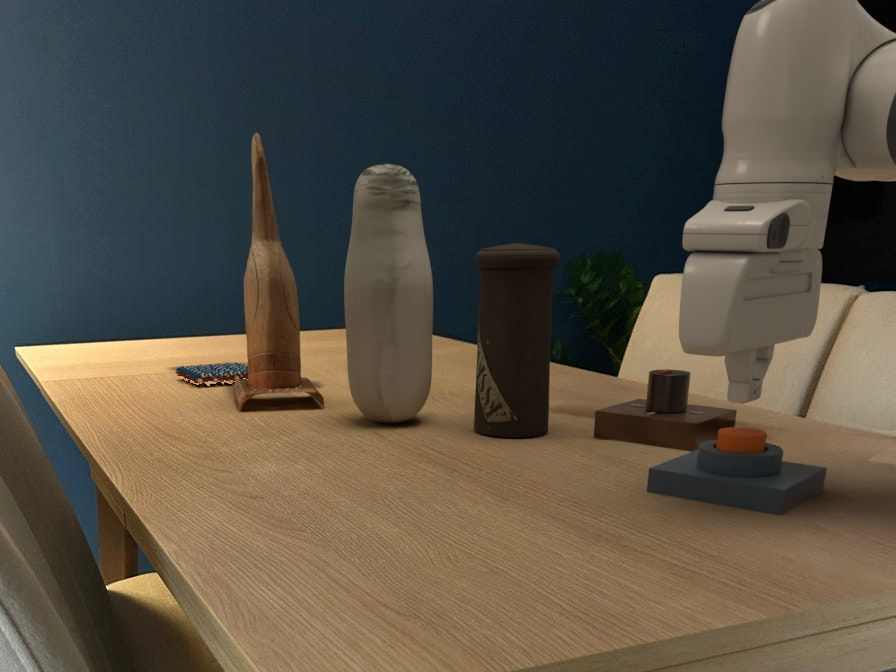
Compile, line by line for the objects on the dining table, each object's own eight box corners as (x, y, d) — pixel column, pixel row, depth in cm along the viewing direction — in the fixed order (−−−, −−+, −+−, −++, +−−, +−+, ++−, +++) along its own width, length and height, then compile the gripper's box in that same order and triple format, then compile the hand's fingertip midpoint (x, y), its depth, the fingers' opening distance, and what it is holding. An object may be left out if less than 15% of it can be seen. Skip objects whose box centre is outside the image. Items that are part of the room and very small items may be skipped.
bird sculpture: (312, 394, 136) (300, 138, 123) (327, 408, 125) (316, 130, 113) (231, 398, 133) (211, 136, 120) (240, 413, 123) (219, 128, 110)
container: (478, 423, 116) (482, 242, 108) (553, 425, 114) (563, 242, 106) (466, 437, 108) (470, 244, 100) (547, 440, 106) (557, 243, 99)
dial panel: (733, 437, 108) (737, 408, 107) (693, 452, 101) (697, 421, 100) (636, 424, 115) (638, 397, 114) (593, 437, 108) (595, 408, 107)
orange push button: (771, 451, 85) (774, 430, 84) (753, 458, 82) (755, 438, 81) (727, 444, 87) (729, 425, 86) (708, 452, 84) (710, 432, 83)
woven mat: (264, 382, 146) (263, 369, 145) (196, 388, 141) (195, 374, 140) (239, 374, 154) (238, 361, 154) (174, 379, 149) (173, 365, 149)
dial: (657, 404, 110) (661, 365, 108) (693, 409, 107) (698, 368, 105) (638, 410, 106) (641, 369, 105) (675, 414, 104) (679, 373, 102)
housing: (822, 491, 86) (830, 447, 84) (780, 516, 79) (787, 467, 77) (696, 471, 93) (700, 430, 91) (646, 492, 86) (650, 447, 84)
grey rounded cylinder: (442, 426, 114) (443, 161, 103) (356, 431, 112) (348, 160, 101) (421, 412, 123) (420, 166, 112) (341, 416, 120) (332, 166, 109)
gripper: (778, 225, 86) (756, 383, 92) (672, 225, 72) (654, 412, 78) (851, 225, 83) (823, 390, 88) (754, 225, 68) (729, 422, 74)
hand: (743, 401), depth 83 cm, fingers closed
